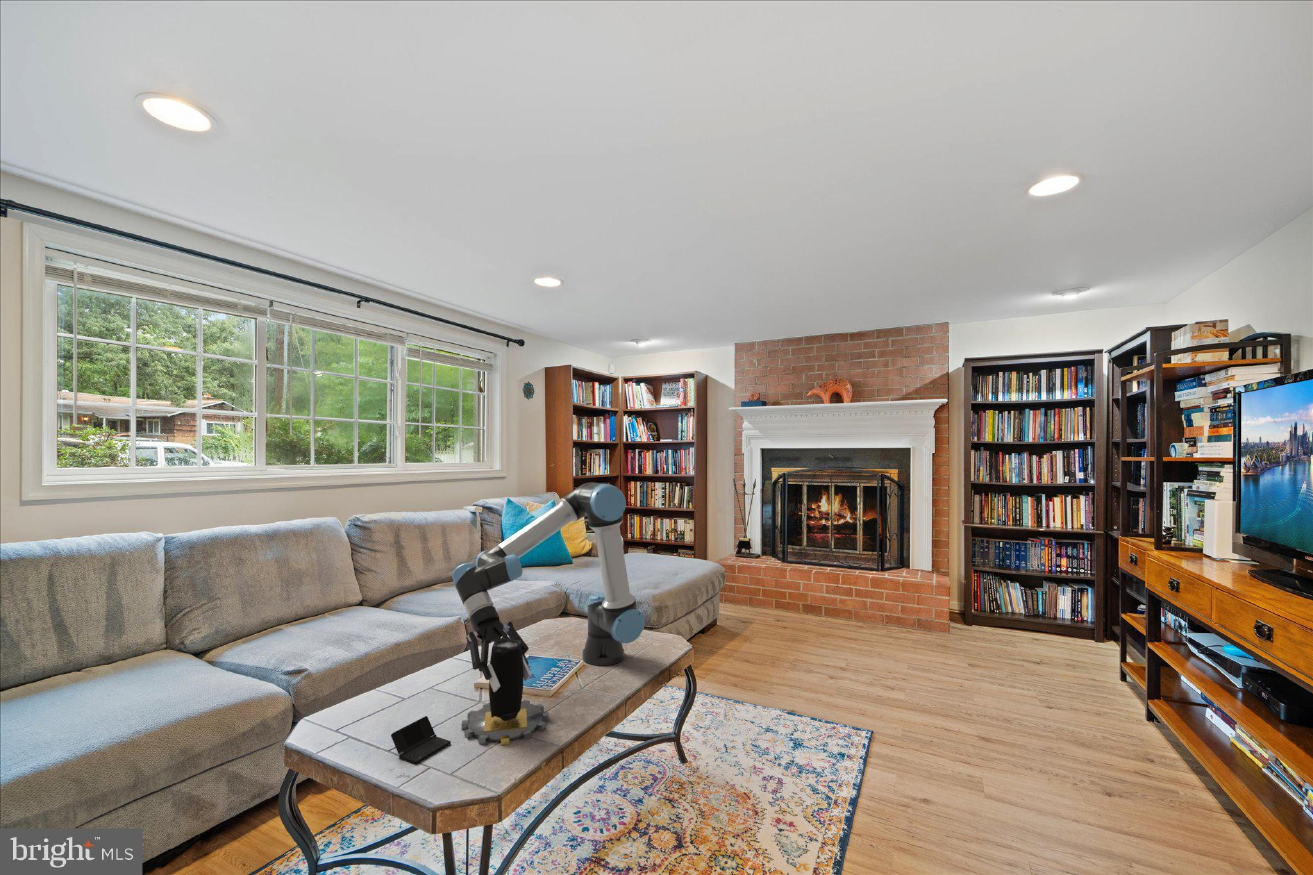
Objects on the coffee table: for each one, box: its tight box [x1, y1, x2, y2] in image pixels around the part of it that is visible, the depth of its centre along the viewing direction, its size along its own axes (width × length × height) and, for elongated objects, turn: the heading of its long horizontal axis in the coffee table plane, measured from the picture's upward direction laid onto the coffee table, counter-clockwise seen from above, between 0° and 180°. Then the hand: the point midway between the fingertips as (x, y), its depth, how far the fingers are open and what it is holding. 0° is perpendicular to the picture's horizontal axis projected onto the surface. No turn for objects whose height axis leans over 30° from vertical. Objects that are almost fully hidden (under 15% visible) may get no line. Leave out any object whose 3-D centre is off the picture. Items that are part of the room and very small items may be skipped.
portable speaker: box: [488, 638, 524, 721], centre depth 155 cm, size 9×9×20 cm
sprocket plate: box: [461, 699, 550, 746], centre depth 156 cm, size 23×23×2 cm
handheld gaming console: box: [390, 715, 452, 765], centre depth 142 cm, size 12×7×10 cm
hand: (513, 683), depth 153 cm, fingers closed on portable speaker, 9 cm apart
